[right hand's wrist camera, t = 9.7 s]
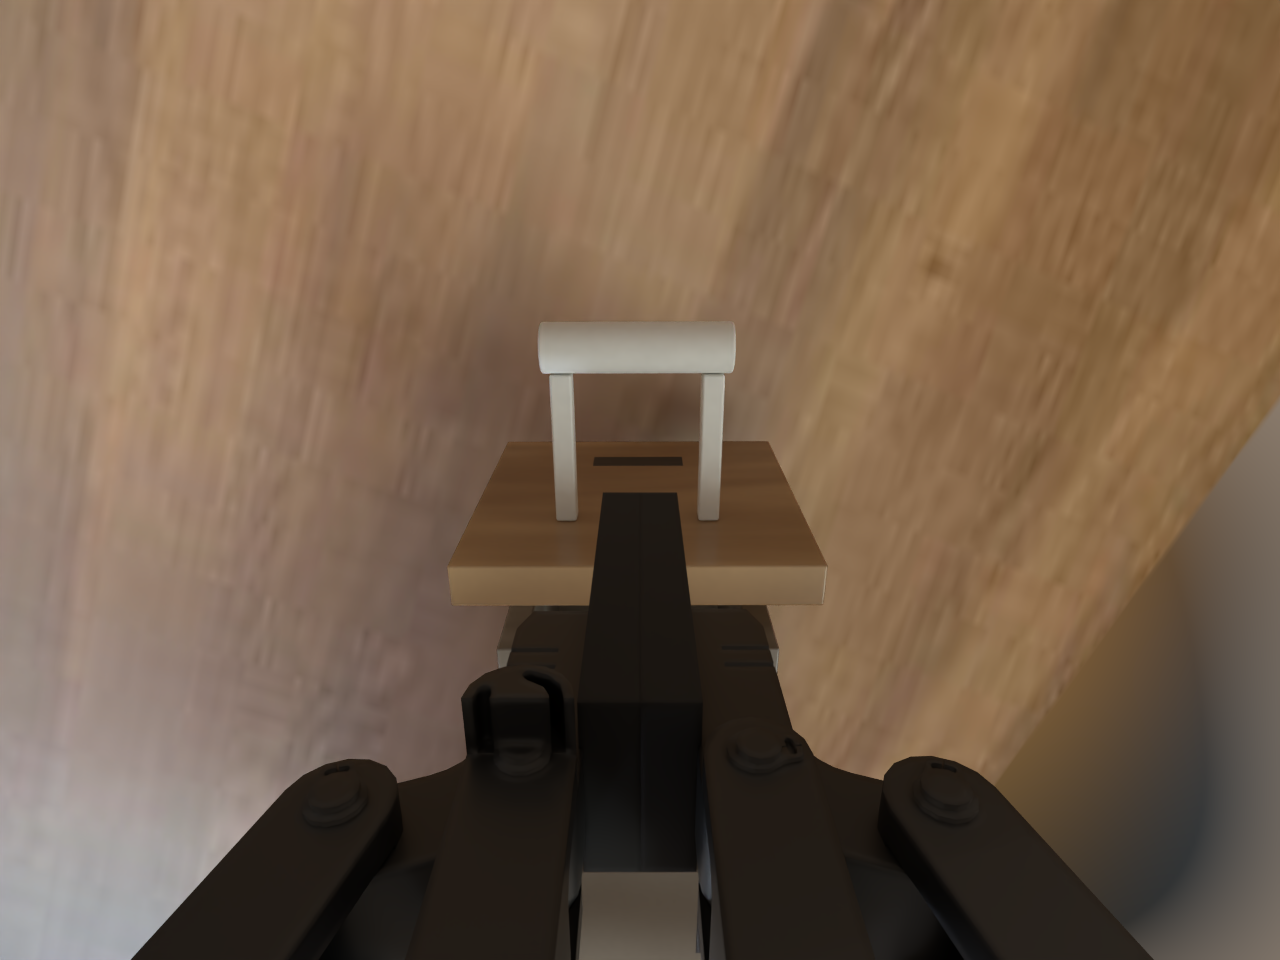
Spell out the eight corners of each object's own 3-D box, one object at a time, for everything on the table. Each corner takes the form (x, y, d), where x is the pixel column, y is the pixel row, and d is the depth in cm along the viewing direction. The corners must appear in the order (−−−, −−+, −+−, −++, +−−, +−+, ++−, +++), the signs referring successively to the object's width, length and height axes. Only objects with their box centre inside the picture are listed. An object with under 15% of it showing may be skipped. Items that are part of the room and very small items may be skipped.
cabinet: (513, 640, 32) (451, 872, 22) (764, 640, 32) (825, 872, 22) (535, 905, 39) (495, 1185, 28) (744, 904, 39) (784, 1184, 28)
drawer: (496, 286, 25) (420, 346, 17) (779, 285, 25) (852, 345, 17) (531, 756, 33) (493, 963, 25) (747, 756, 33) (784, 963, 25)
